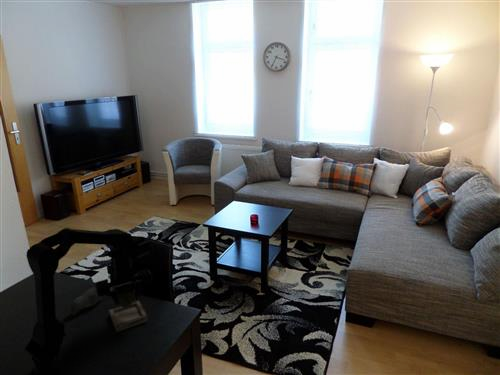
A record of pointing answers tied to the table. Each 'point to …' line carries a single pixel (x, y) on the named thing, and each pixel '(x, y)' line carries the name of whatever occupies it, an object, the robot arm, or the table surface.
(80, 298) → the decorative bird
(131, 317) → the birch stand
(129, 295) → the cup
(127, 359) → the table surface
